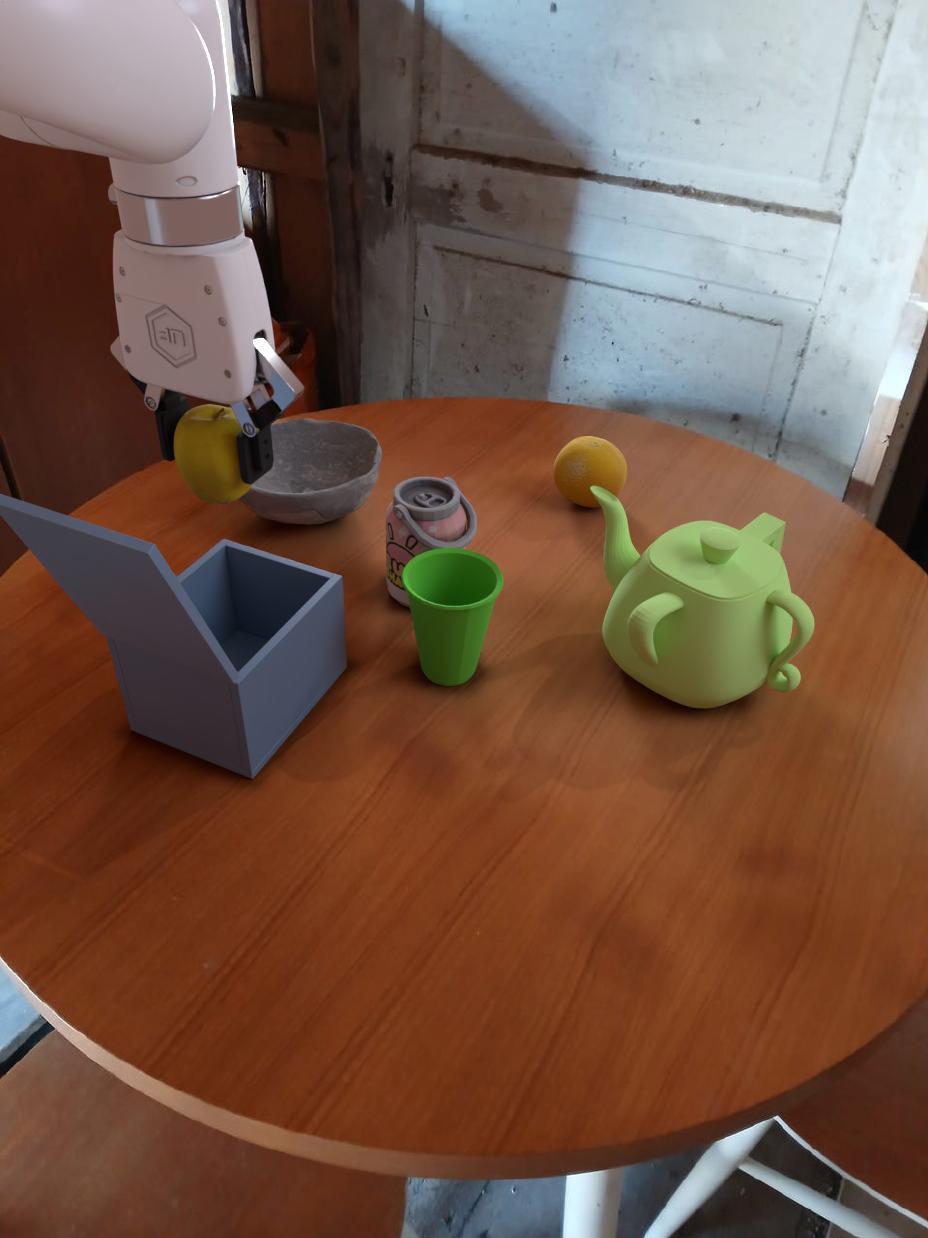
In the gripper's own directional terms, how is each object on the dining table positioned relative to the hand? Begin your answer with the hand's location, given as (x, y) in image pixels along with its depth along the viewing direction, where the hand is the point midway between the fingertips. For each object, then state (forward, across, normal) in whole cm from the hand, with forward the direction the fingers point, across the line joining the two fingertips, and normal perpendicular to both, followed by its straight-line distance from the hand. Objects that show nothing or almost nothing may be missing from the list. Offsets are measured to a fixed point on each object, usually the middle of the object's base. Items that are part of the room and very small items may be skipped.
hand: (218, 462), depth 68 cm
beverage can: (+24, +8, +21) cm, 33 cm away
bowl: (+24, -12, +29) cm, 39 cm away
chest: (+24, 0, -1) cm, 24 cm away
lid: (+5, 0, -11) cm, 12 cm away
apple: (+3, 0, 0) cm, 3 cm away
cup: (+24, +15, +11) cm, 30 cm away
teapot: (+24, +34, +24) cm, 48 cm away
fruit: (+24, +17, +47) cm, 55 cm away
